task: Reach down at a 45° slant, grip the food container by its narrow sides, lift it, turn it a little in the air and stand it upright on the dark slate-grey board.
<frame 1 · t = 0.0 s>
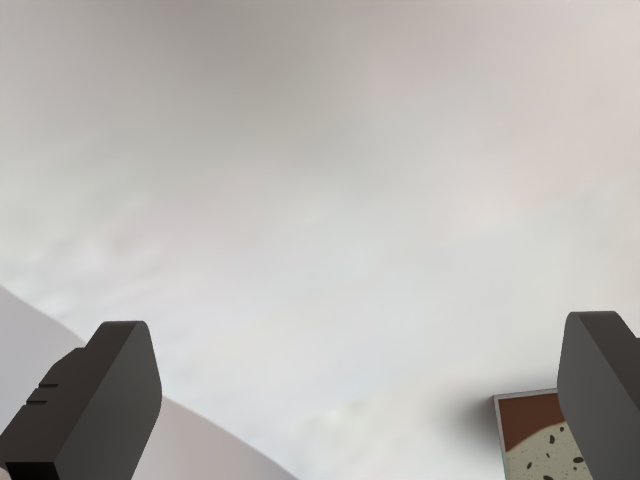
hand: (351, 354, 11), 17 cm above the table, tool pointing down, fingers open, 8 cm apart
food container: (572, 420, 35), on the table
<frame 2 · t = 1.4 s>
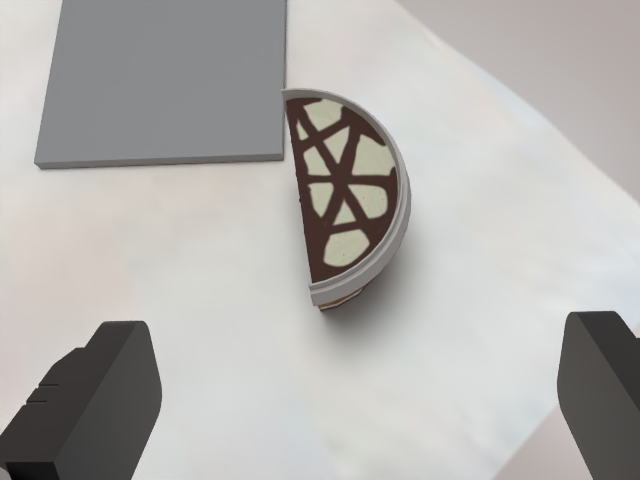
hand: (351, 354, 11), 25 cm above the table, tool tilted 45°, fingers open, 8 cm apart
food container: (355, 238, 39), on the table
slate board: (170, 60, 45), on the table
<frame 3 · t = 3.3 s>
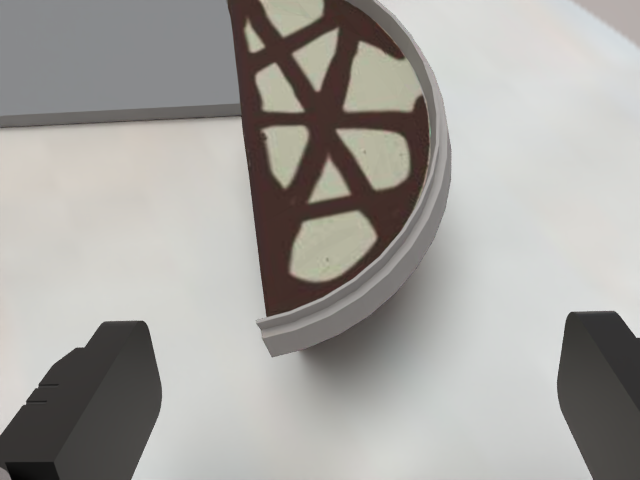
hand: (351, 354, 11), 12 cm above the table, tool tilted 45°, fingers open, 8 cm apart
food container: (352, 231, 25), on the table
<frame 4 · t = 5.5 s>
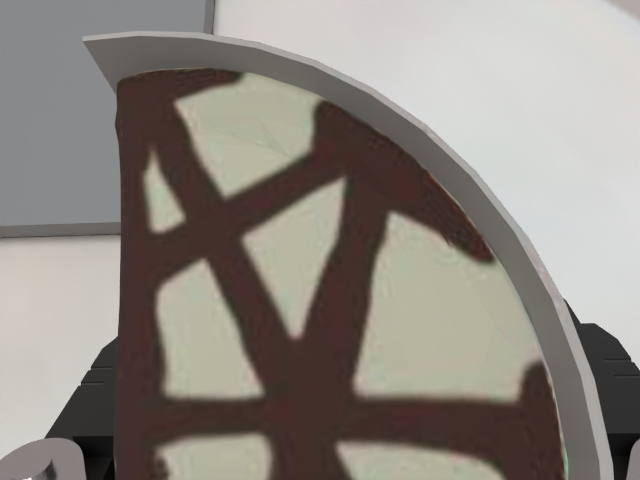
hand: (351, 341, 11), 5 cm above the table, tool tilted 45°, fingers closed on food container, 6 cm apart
food container: (363, 433, 16), on the table, touching gripper
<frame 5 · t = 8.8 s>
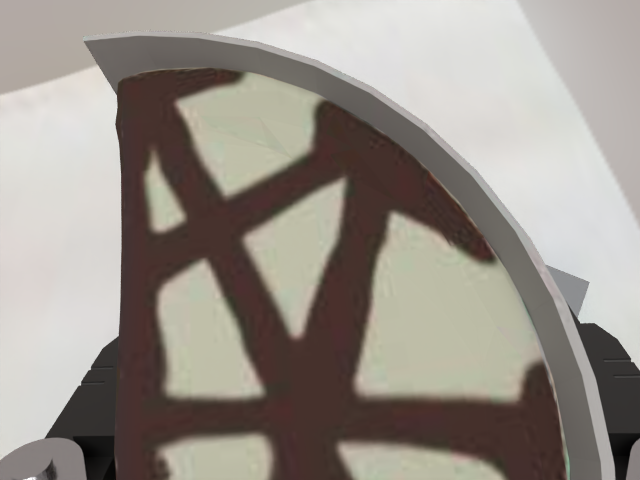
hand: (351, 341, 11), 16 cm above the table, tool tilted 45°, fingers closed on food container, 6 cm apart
food container: (364, 433, 16), point 11 cm above the table, touching gripper
slate board: (333, 380, 27), on the table
when the fingers open (7 cm above the table, at t = 11.8 s): food container drops 1 cm, resting on slate board.
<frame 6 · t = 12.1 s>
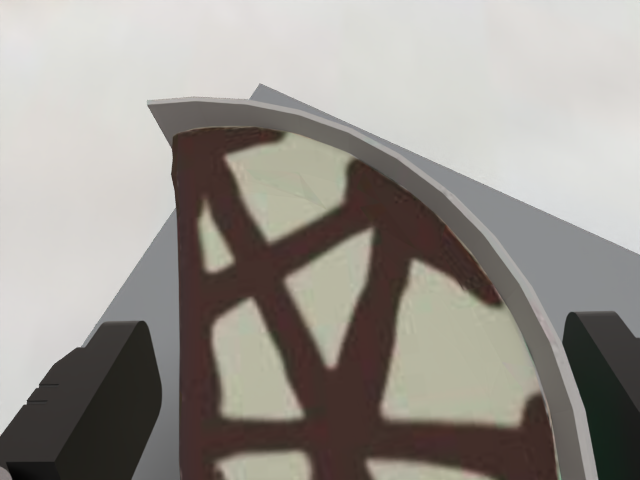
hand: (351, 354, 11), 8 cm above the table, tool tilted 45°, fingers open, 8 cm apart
food container: (376, 439, 17), point 1 cm above the table, touching slate board
slate board: (359, 433, 18), on the table
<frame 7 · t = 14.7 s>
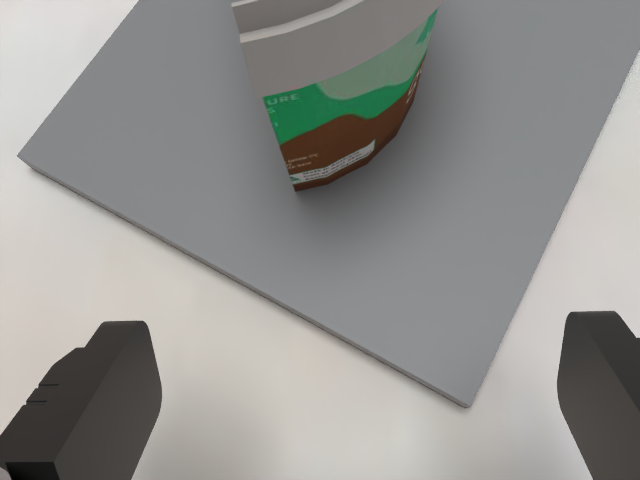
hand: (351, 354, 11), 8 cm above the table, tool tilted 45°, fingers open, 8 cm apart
food container: (363, 68, 21), point 1 cm above the table, touching slate board
slate board: (350, 78, 22), on the table
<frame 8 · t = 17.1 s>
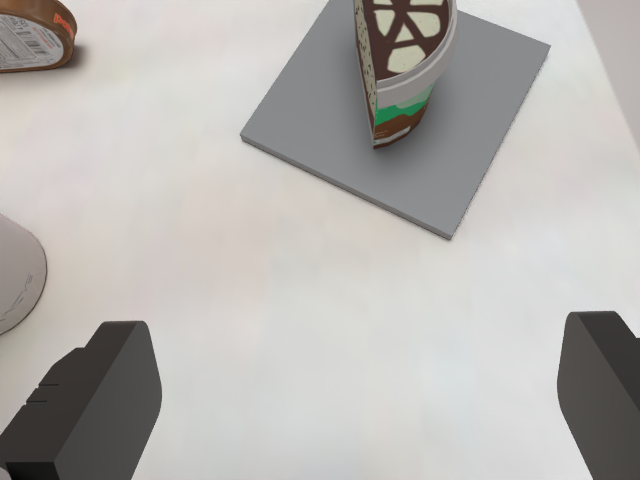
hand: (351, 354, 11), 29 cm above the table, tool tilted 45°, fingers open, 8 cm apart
food container: (402, 92, 45), point 1 cm above the table, touching slate board
slate board: (395, 96, 46), on the table
tin: (10, 65, 50), on the table
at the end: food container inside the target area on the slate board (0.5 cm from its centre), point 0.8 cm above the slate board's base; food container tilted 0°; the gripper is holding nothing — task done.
